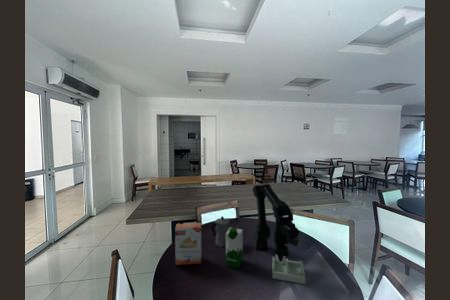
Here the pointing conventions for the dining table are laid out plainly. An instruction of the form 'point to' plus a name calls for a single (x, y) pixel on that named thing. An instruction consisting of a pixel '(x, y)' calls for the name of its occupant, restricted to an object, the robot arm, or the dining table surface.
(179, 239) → the cracker box
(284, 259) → the jar
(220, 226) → the coffeepot
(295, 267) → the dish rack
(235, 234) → the milk carton
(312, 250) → the dining table surface
